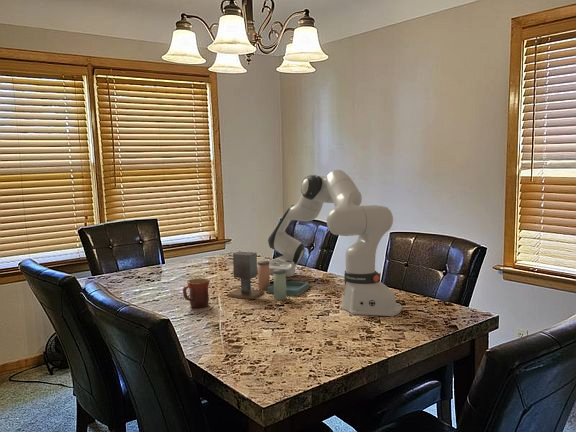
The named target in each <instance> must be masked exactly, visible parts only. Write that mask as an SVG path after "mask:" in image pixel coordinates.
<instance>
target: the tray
mask: <svg viewBox="0 0 576 432" xmlns="http://www.w3.org/2000/svg"><path fill="white" fill-rule="evenodd" d="M309 288H310V282H307V281H306V282H304V281H296V280H295V281H293V280H286V296H292V295H296V296H295V297H298V296H299V295H301V294H302V293H304V292H305V291H307V290H308V289H309ZM306 289H307V290H306ZM303 291H304V292H303ZM301 292H302V293H301ZM266 293H267V294H272V293H274V283H273V284H271V285H270V286H269V287H268V288H267V289H266ZM300 293H301V294H300ZM297 295H298V296H297Z"/></svg>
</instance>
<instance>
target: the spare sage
mask: <svg viewBox="0 0 576 432" xmlns="http://www.w3.org/2000/svg"><path fill="white" fill-rule="evenodd" d="M273 273H274V276H273V284H274V294H273V299H274V301H285V300H287V295H286V281H287V277H286V270H285V269H274V270H273ZM284 299H285V300H284Z"/></svg>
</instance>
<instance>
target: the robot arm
mask: <svg viewBox="0 0 576 432" xmlns="http://www.w3.org/2000/svg"><path fill="white" fill-rule="evenodd" d="M300 191H301V195H300V197H299V199H298V201H297V203H296V204H291V205H290V206H289V207H288V208H287V209H286V211H285V212H284V214H283V215H282V217H281V219H280V220H279V222H278V223H277V225H276V227H275V228H274V230H273V231H272V233H270V235H269V237H268V239H267V243H268V247H269V248H270V249H272V250H274V251H276V252H277V253H280V254H281V256H278V257H276V258H273V259H272V260H270V261H269V276H273V277H274V273H273V270H274V269H285V270H286V278H287V277H288V278H289V277H293V276H295V274H296V267H297V266H298V264H299V263H300V262H301V260H302V259H303V257H304V255H305V245H304V244H303V242H301V241H300V240H298V239H296V238H295V237H292V236H291V235H289V234H288V233H287V232H286V229H287V227H289V224H290V223H291V221H298V222H312V221H313V220H315V219H317V218H318V217H319V215H320V213H321V210H322V207H323V205H324V203H327V204H333V205H334V208H333V209H330V211H329V213H328V214H327V216H326V226H327V228H328V230H329V232H330V233H331V234H332V235H334V236H342V237H349V236H350V237H353V236H358V238H357V239H356V241H355V242H354V243H353V244H352V245H350V246H348V247H347V249H346V251H345V270H344V273H343V274H344V285H345V286H344V294H343V301H342V303H341V308H342V309H343V310H345V311H347V312H349V314H350V315H363V316H380V317H381V316H382V317H393V316H397V315H399V314H400V313H402V310H403V307H402V304H401V303H398V302H397V300H396V296H395V293H394V291H393V290H392V289H391V288H390V287H388V286H387V285H385V283H384V282H382V281H381V274H382V273H381V272H378V271H376V254H377V250H378V246H379V244H380V241H381V240H382V238H383V236H385V234H387V232H389V230H391V229H392V226H393V223H394V216H393V213H392V210H391V209H389V207H387V206H383V205H376V204H372V205H361V204H362V192H360V190H359V189H358V186H357V185H356V184H355V182H354V181H353V179H352V178H351V177H350V176H349V175H348V174H347V173H346V172H345V171H343V170H341V169H334V170H331V171H329V173H328V174H327V175H326V176H323V175H322V176H321V175H315V174H310V175H307V176H305V177H304V178H303V179H302V181H301V184H300ZM257 276H258V263H257Z"/></svg>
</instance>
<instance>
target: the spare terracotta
mask: <svg viewBox="0 0 576 432" xmlns="http://www.w3.org/2000/svg"><path fill="white" fill-rule="evenodd" d="M269 263H270V261H269V260H257V264H258V275H257V278H258V290H267V288H268V287H269V286H271V285H270V284H271V283H270V275H269Z"/></svg>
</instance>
